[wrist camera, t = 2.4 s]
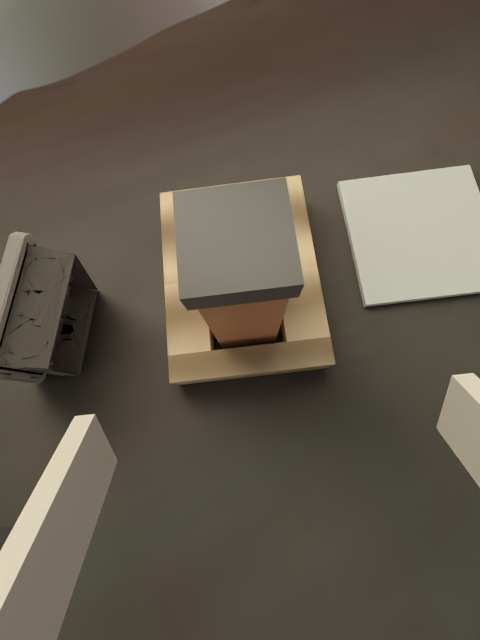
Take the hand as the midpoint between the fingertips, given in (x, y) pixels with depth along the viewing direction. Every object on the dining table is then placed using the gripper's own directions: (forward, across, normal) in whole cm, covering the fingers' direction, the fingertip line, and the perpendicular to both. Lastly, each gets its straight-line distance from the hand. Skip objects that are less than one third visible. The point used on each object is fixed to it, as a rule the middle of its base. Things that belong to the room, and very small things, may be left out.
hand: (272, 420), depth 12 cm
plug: (+15, -1, -4) cm, 15 cm away
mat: (+19, +15, 0) cm, 24 cm away
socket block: (+17, -1, -2) cm, 17 cm away
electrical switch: (+15, -15, -3) cm, 22 cm away
